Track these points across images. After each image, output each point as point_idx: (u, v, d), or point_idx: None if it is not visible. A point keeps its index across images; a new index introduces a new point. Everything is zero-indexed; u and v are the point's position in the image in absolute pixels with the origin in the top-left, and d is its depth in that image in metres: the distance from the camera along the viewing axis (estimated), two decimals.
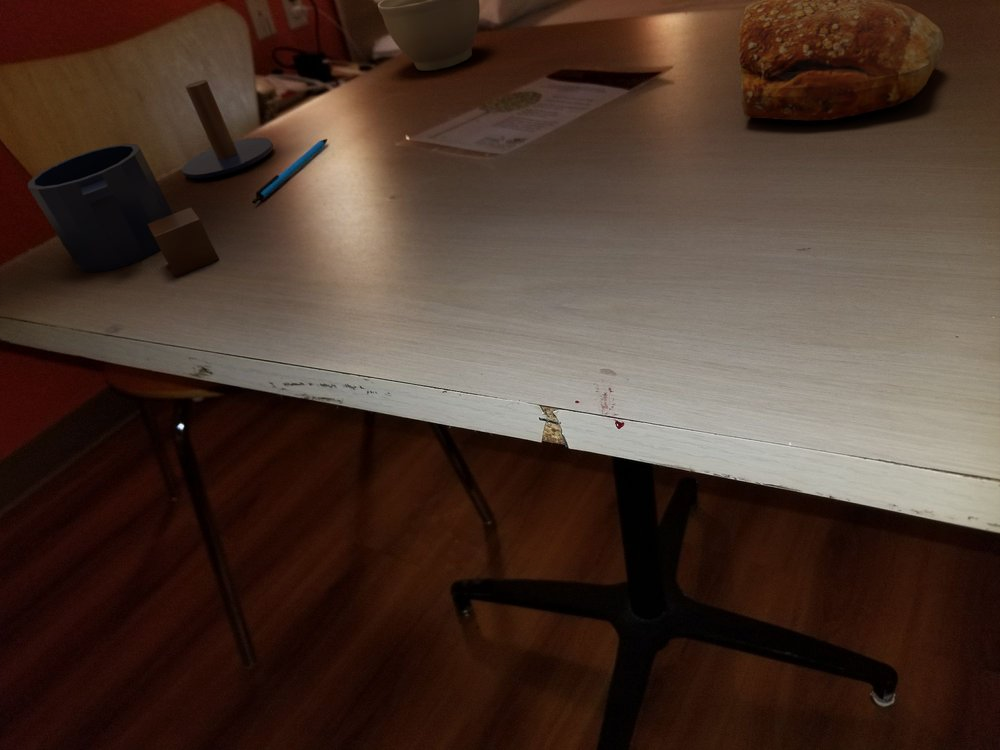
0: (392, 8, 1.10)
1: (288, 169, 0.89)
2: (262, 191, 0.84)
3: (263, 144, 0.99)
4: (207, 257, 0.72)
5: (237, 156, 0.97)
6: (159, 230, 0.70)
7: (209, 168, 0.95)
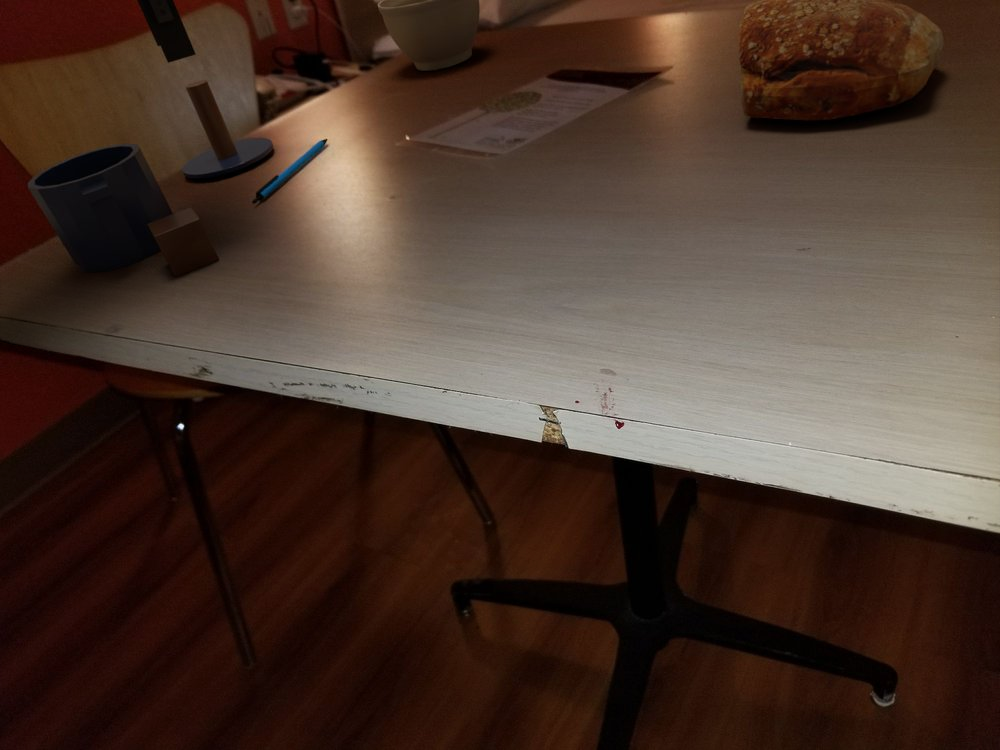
0: (392, 8, 1.10)
1: (288, 169, 0.89)
2: (262, 191, 0.84)
3: (263, 144, 0.99)
4: (207, 257, 0.72)
5: (237, 156, 0.97)
6: (159, 230, 0.70)
7: (209, 168, 0.95)
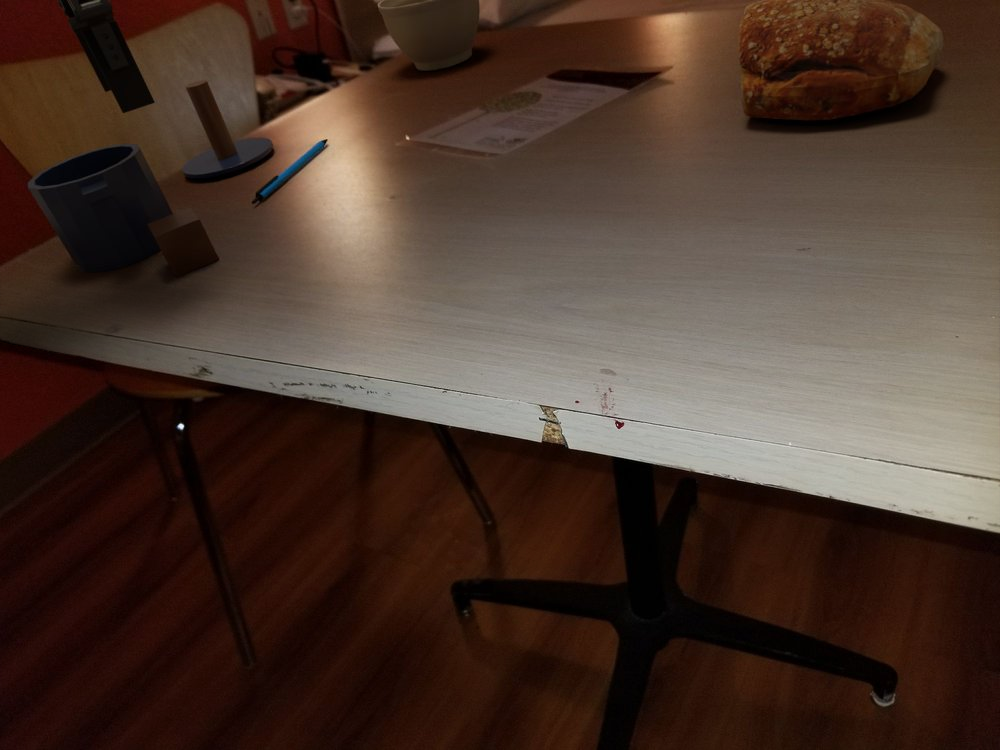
0: (392, 8, 1.10)
1: (288, 169, 0.89)
2: (261, 191, 0.84)
3: (263, 144, 0.99)
4: (207, 257, 0.72)
5: (237, 156, 0.97)
6: (159, 230, 0.70)
7: (209, 168, 0.95)
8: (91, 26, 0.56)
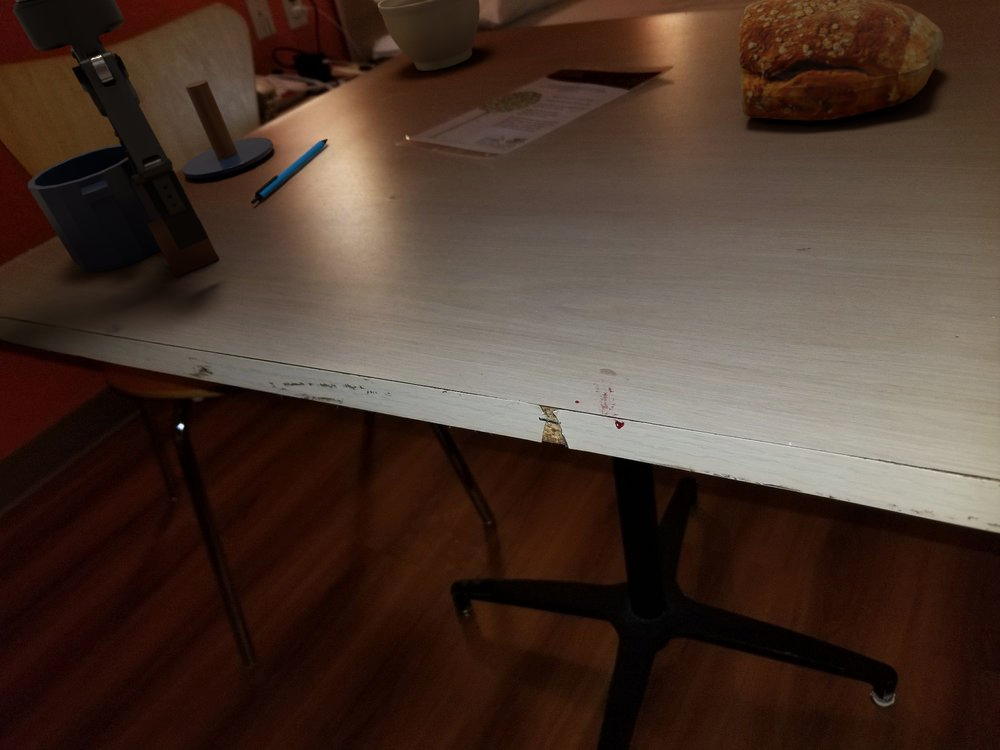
0: (392, 8, 1.10)
1: (287, 169, 0.89)
2: (261, 191, 0.84)
3: (263, 144, 0.99)
4: (207, 257, 0.72)
5: (237, 156, 0.97)
6: (159, 230, 0.70)
7: (209, 168, 0.95)
8: (152, 180, 0.61)
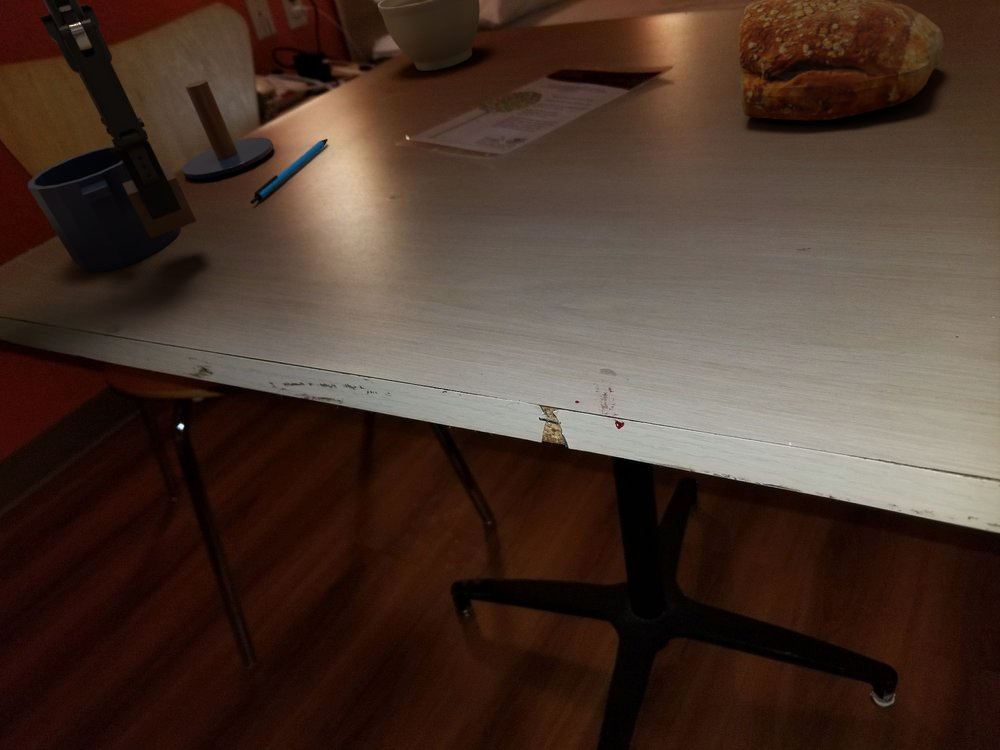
0: (392, 8, 1.10)
1: (287, 169, 0.89)
2: (260, 191, 0.84)
3: (263, 144, 0.99)
4: (183, 218, 0.70)
5: (237, 156, 0.97)
6: (133, 189, 0.68)
7: (209, 168, 0.95)
8: (128, 150, 0.63)
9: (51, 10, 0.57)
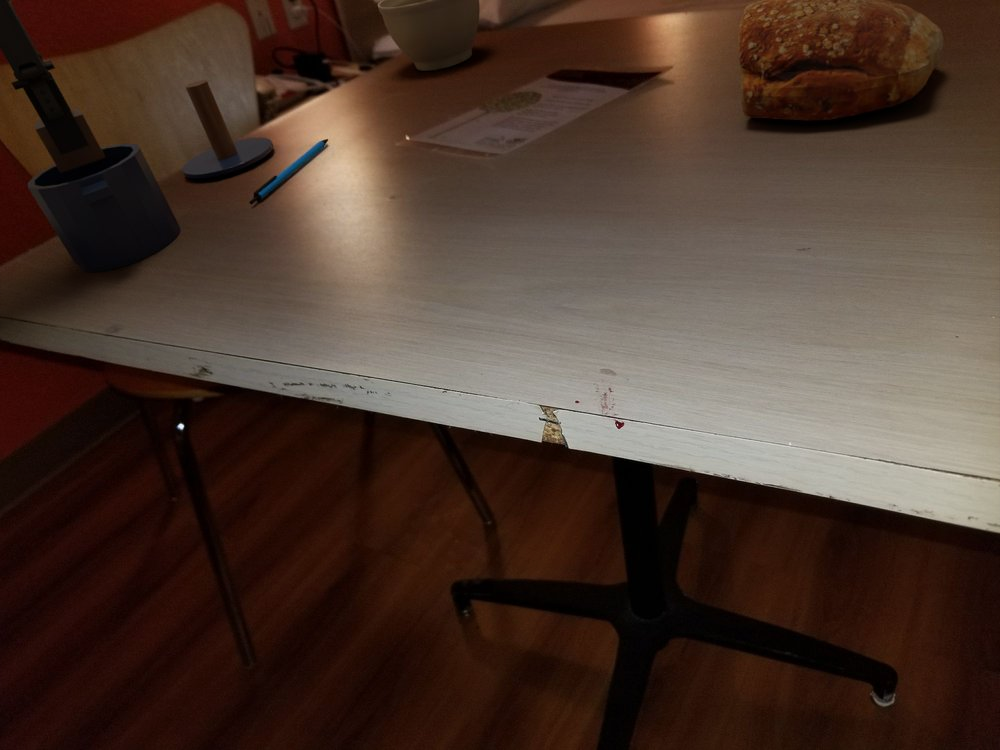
0: (392, 8, 1.10)
1: (287, 169, 0.89)
2: (259, 192, 0.84)
3: (263, 144, 0.99)
4: (92, 154, 0.74)
5: (237, 156, 0.97)
6: (42, 125, 0.72)
7: (209, 168, 0.95)
8: (30, 84, 0.67)
9: None
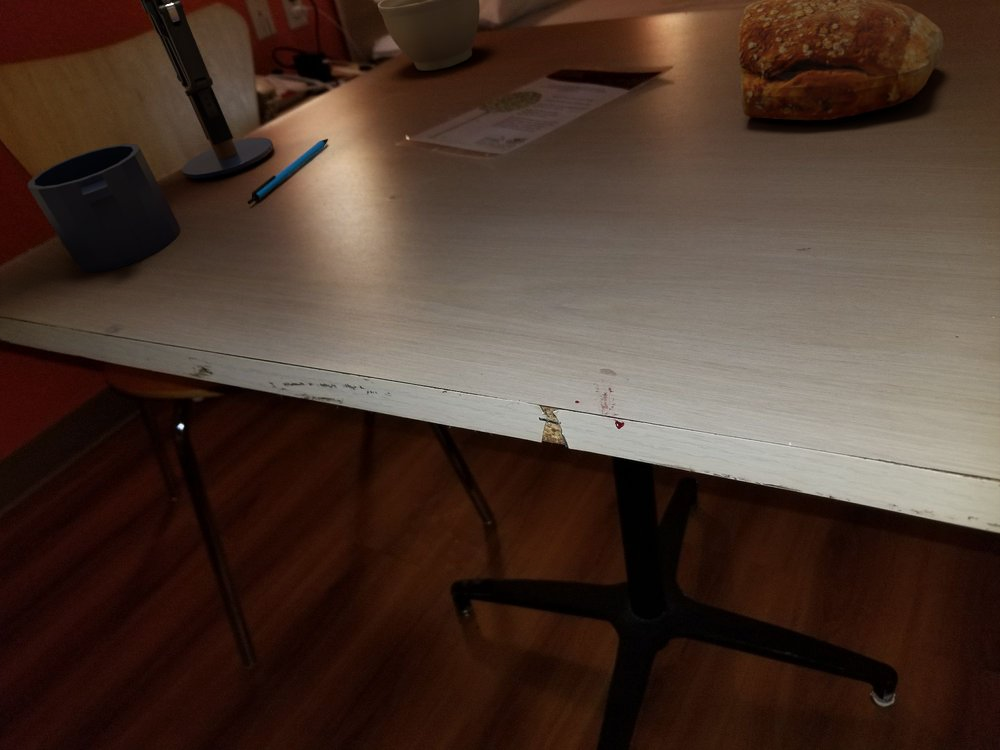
0: (392, 8, 1.10)
1: (286, 169, 0.89)
2: (258, 192, 0.84)
3: (263, 144, 0.99)
4: None
5: (237, 156, 0.97)
6: None
7: (209, 168, 0.95)
8: (198, 92, 0.90)
9: None
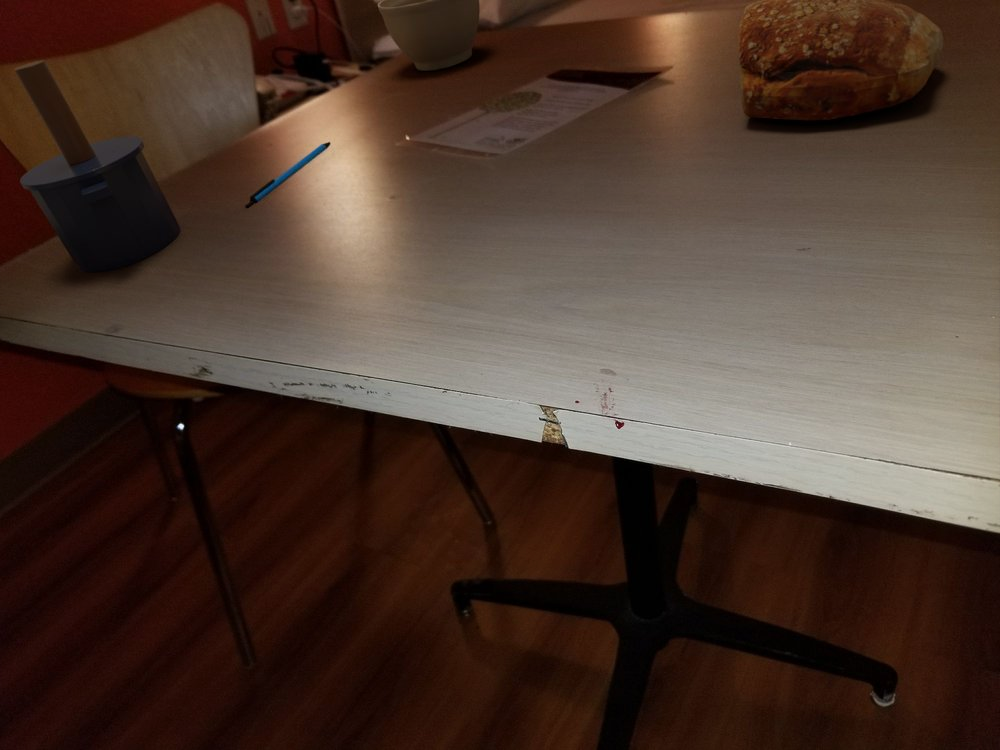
0: (392, 8, 1.10)
1: (285, 173, 0.89)
2: (256, 196, 0.85)
3: (130, 145, 0.76)
4: None
5: (92, 161, 0.74)
6: None
7: (51, 177, 0.72)
8: None
9: None
